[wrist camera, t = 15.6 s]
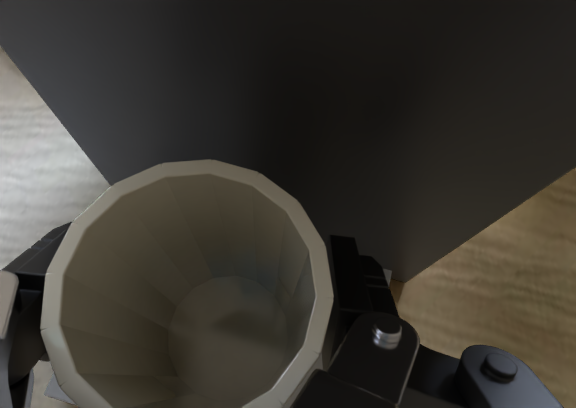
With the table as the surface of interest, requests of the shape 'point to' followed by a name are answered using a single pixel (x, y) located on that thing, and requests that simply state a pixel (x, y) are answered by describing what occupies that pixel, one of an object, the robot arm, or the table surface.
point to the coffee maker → (321, 104)
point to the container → (187, 292)
